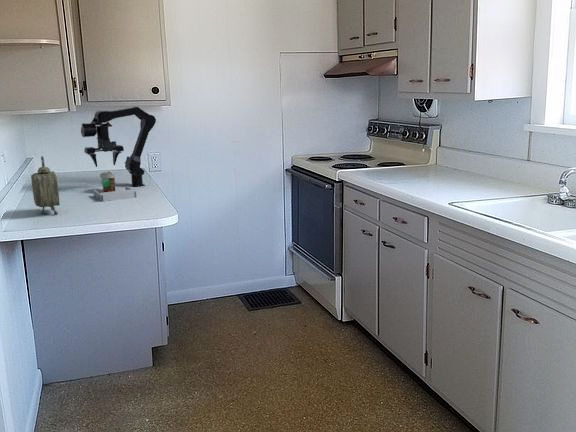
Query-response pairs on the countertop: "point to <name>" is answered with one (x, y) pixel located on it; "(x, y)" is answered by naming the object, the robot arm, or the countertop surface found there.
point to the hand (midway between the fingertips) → (105, 165)
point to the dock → (115, 194)
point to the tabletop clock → (45, 188)
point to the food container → (108, 181)
